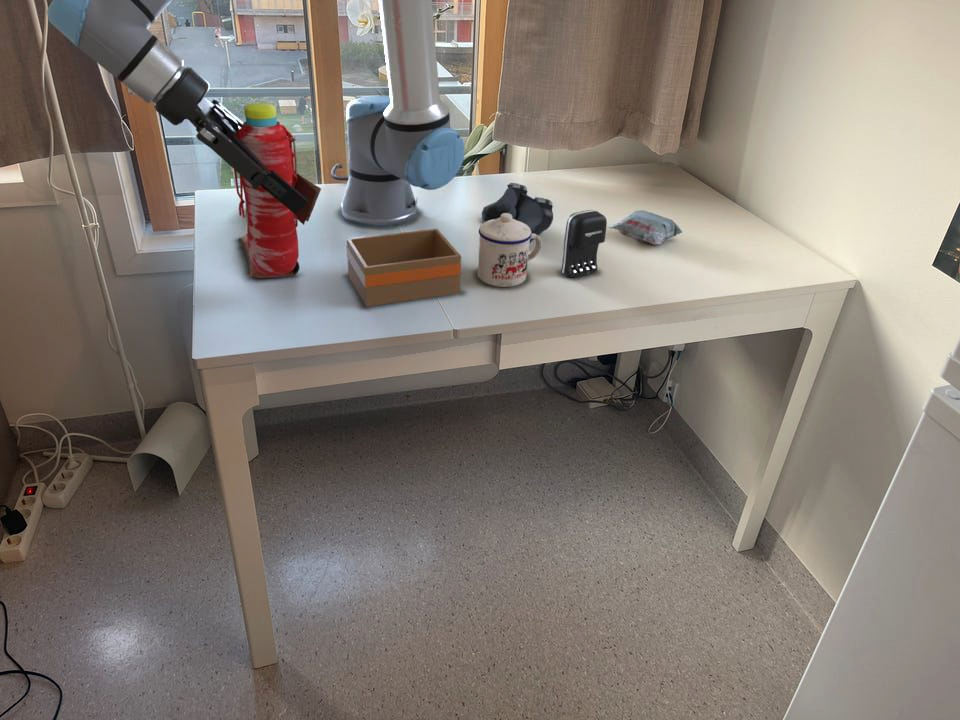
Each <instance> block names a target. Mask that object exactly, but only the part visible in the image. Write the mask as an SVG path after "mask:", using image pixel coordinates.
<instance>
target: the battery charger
mask: <svg viewBox="0 0 960 720" xmlns="http://www.w3.org/2000/svg"><path fill="white" fill-rule="evenodd" d="M607 221H608V220H607V218H606V216H605V215H604V214H602V213H600V212H599V211H598V210H596V209H588V210H581V211H577V212H573V213H571V214H570V215H569V216H568V218H567V219H566V225H565V230H564V231H565V232H564V241H563V253H562V254H563V255H562V264H561V270H560V271H561V272H562V273H561V274H563V275H566V276H567V277H571V278H577V277H584V276H587V275H590V274H595V273H596V272H597V271H598V261H597V260H598V259H597V258H598V250H599V245H600V244H603V243H605V241H606V234H607V226H608V222H607Z"/></svg>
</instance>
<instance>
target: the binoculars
mask: <svg viewBox="0 0 960 720" xmlns="http://www.w3.org/2000/svg"><path fill="white" fill-rule="evenodd" d="M553 203H554V202H552V200H550V199H548V198H544V197H538V196H537V197H535V196H534V198H533V197H532V196H529V195H528V187H526V185H523V184H520V183H516V182H509V184H507V188H506V190H504V193H503V195H502V196H501V197H500V198H499V199H497V200H496V201H494V202H493V203H490V204H488V205H485V206H484V207H483V208H482V211H481V220H482V221H483V223H484V222H486V221H489V220H493V219H497V218H500V217H501V215H502V214H503V213H509V214H511V215H512V219H515V220H516V221H520V222H522V223H524V224H526V225H527V226H528V227H529V228H530V230H531V233H532V234H536V235H538V236H539V237H540V235H541V234H542V233H543V232H545V231H547V230H548V229H549V228H550V227H551V225H552V224H553V220H554V212H553V207H554V205H553ZM534 240H535V239H530V243H529V244H531V243H532V242H533V241H534Z"/></svg>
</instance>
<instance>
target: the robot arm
mask: <svg viewBox="0 0 960 720" xmlns="http://www.w3.org/2000/svg"><path fill="white" fill-rule="evenodd" d="M171 2H173V0H52V1H51V3H50V4H49V6H48V8H47V11H46V14H47V19H48V21H49V23H50V24H51V25H52V26H53V27H54V28H55V29H57V30H58V31H59V32H60V33H61V34H62V35H63V36H64V37H66V38H67V39H68V40H69V41H70V42H71V43H72V44H73V45H74V46H75V47H77V48H78V49H79V50H80V51H82V52H83V53H84V54H85V55H87V57H89V58H90V59H92V60H93V61H94V62H95V63H96V64H98V65H99V66H100V67H102V69H104V70H105V71H107V73H109V74H110V75H112V76H113V77H114V78H116V79H117V80H118V81H119V82H121V83H122V84H123V85H125V87H127V92H128V94H129V95H131V96H134V95H137V96H138V97H139V98H140V99H142V101H143V102H145V103H147V104H151V103H154V106H153V107H154V111H155V112H157V113H158V114H159V115H161V116H162V117H163V118H164V119H165V120H167V122H169V123H170V124H171V125H173V126H179V125H181V124H182V123H184V121H185V120H188V121H189V122H190V123H191V124H192V125H193V127H194V128H195V131H196V132H197V134H196V135H195V137H196V138H197V140H198V141H200V142H202V143H203V144H204V145H205V146H207V147H208V148H209V149H211V150H212V151H213V152H214V153H215V154H216V155H217V156H219V157H220V158H221V159H222V160H223V161H224V162H225V163H226V164H228V165H229V166H230V167H231V169H233V170H234V169H235V170H236V172H237V174H239V176H240V175H241V176H242V177H244V178H245V179H246V180H247V181H248V182H249V183H250V184H251V185H252V187H253V188H254V189H257V188H258V187H259V186H261V187H263V188H264V189H265V190H266V191H267V192H269V193H270V194H271V195H272V196H274V197H275V198H276V199H277V200H278V201H280V202H281V203H282V204H283V205H284V206H286V207H287V208H288V209H289V210H290V211H292V212H293V213H294V214H295V215H296V214H297V213H298V212H299V211H300V210H301V209H302V208H303V207H304V206H305V205H306V204H307V203H308V200H307V199H306V198H305V197H304V196H303V195H301V194H300V193H299V192H298V191H297V190H295V189H294V188H293V187H292V186H291V185H290V184H288V183H287V182H286V181H285V180H284V179H283V178H281V177H280V176H279V175H278V174H277V173H275V172H274V171H273V170H272V171H271V172H270V170H269V169H268V168H266V167H265V165H264V164H263V163H262V162H261V161H260V160H259V159H258V158H257V157H256V156H255V155H254V154H253V153H252V152H251V151H250V150H249V149H248V148H247V147H246V146H245V145H244V144H243V143H242V142H241V141H240V140H239V139H238V138H237V132H238V131H239V130H240V129H241V128H242V125H243V123H244V121H242V120H241V119H240V118H238V116H236V115H235V114H233V113H232V112H231V111H230V110H228V109H227V107H225V106H224V105H223V104H222V103H221V102H220V100H218V99H217V98H213V99H212V100H211V101H210V100H209V99H207V98H206V97H205V96H206V95H207V94H208V92H209V90H210V88H211V87H210V83H209V82H208V80H206V79H204V77H203V76H201V75H200V74H199V73H198V72H197V71H196V70H195V69H193V68H192V67H191V66H190V67H189V66H186V67H185V66H184V62H185V61H184V59H183V58H182V57H180V56H179V55H178V54H177V53H176V52H175V51H173V49H171V48H170V47H169V46H167V45H166V44H165V43H164V42H163V41H162V40H161V39H159V38H158V37H157V36H155V34H153V33H152V32H151V31H150V29H149V28H150V26H151V25H153V23H154V22H155V21H156V20H157V19H158V17H159V16H160V15H161V14H162V12H164V11H165V10H166V8H167V7H168V6H169V5H170V3H171ZM378 4H379V13H380V21H381V30H382V36H383V46H384V55H385V63H386V71H387V72H386V73H387V81H388V88H389V95H373V96H363V97H359V98H355V99H352V100H351V101H349V102H348V104H347V105H346V115H345V118H346V119H345V123H346V134H347V135H346V136H347V153H348V154H347V155H348V156H347V157H348V173H349V174H348V176H338V175H336V174H335V173H336V171H337V169H342V163H336V164H335V165H334V166H333V167H332V169H331V171H330V176H331V177H332V178H333V179H334V180H336V181H347V183H346V186H345V191H344V194H343V196H342V200H341V215H342V217H343V218H344V219H345V220H346V221H348V222H351V223H354V224H356V225H360V226H366V227H375V228H377V227H379V228H383V227H385V228H386V227H394V226H395V227H396V226H400V225H403V224H406V223H408V222H410V221H412V220H414V219H415V218H416V216H417V207H418V198H415V195H414V192H413V189H412V187H416V188H420V189H423V190H427V191H435V190H439V189H441V188H443V187H445V186H446V185H448V184H449V183H450V182H452V180H453V179H455V176H456V174H457V173H458V172H459V171H460V170H461V168H462V165H463V162H464V159H465V151H466V149H465V142H464V139H463V137H462V136H461V135H460V134H459V132H458V131H457V130H455V129H454V128H451V118H450V117H451V116H450V115H451V114H450V107H449V106H448V104H446V103H445V102H444V101H442V99H441V97H440V85H439V74H438V73H439V72H438V61H437V60H438V59H437V49H436V47H437V46H436V36H435V23H434V9H433V0H378ZM255 172H257V173H256V174H254V173H255ZM294 174H295V169H294ZM297 174H299V173H298V172H297Z"/></svg>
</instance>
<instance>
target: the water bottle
mask: <svg viewBox="0 0 960 720" xmlns="http://www.w3.org/2000/svg"><path fill="white" fill-rule="evenodd" d="M243 109H244V117H245V121H243V125H242V128H241V129H240V130H239V131H238V132H237V138H238V139H239V140H240V141H241V142H242V143H243V144H244V145H245V146H246V147H247V148H248V149H249V150H250V151H251V152H252V153H253V154H254V155H255V156H256V157H257V158H258V159H259V160H260V161H261V162H262V163H263V164H264V165H265V167H266V168H268V169H269V170H270V172H271V171H272V170H273V171H274V172H275V173H277V174H278V175H279V176H280V177H281V178H283V179H284V180H285V181H286V182H287V183H288V184H290V185H291V186H292V187H293V188H294V189H295V190H297V191H298V192H299V193H300V194H301V195H303V196H304V197H305V198H306V199H307V200H308V203H307V204H306V205H305V206H304V207H303V208H302V209H301V210H300V211H299V212H298V213H297V214H296V215H295V214H294V213H293V212H292V211H290V210H289V209H288V208H287V207H286V206H284V205H283V204H282V203H281V202H280V201H278V200H277V199H276V198H275V197H274V196H272V195H271V194H270V193H269V192H267V191H266V190H265V189H264V188H263V187H261V186H259V187H258V188H257V189H254V188H253V187H252V185H251V184H250V183H249V182H248V181H247V180H246V179H245V178H244V177H242V176H241V175H240V174H239V181H238V172H237V171H236V170H235V169H233V173H234V181H235V182H234V183H235V189H236V194H237V196H238V197H239V200H240V202H239V203H238V204H239V205H238V215H239V216H240V217H241V216H242V218H243V219H244V218H246V234H247V240H248V249H249V256H250V260H251V262H252V264H253V266H254V268H255V269H256V270H257V271H258V272H260V273H262V274H265V275H272V276H275V275H283V274H286V273H289V272H290V271H292V270H293V269H294V267H295V266H296V263H297V261H298V260H299V257H300V254H299V253H300V251H299V238H298V231H297V228H298V224H299V223H298V222H300V223H301V224H302V225H303V226H305V223H306V222H309V221H310V218H311V215H312V213H313V210H314V207H315V206H316V203H317V201H318V198H319V195H320V194H321V192H322V191H321V190H322V188H321V187H319V186H317V184H314V183H313V182H312V181H310V180H308V179H307V178H305V177H303V176H302V175H301V174H299V173H298V160H297V147H296V146H297V145H296V140H297V139H296V136H295V135H293V134H292V133H291V132H290V131H289V130H288V129H287V128H286V127H285V125H283V124H281V122H280V121H278V120H277V119H278V118H277V116H278V115H277V107H276V105H273V104H270V103H264V102H261V103H260V102H259V103H258V102H257V103H250V104H248V105H245V106H244V107H243ZM294 170H295V174H294ZM256 173H257V172H255V173H254V174H256ZM297 173H298V174H297ZM244 204H245V208H244ZM245 211H246V212H245ZM245 214H246V215H245Z"/></svg>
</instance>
